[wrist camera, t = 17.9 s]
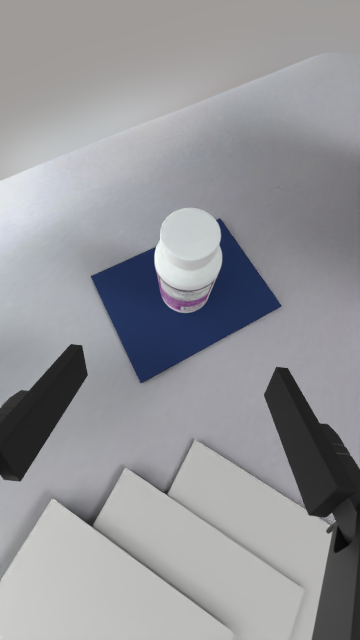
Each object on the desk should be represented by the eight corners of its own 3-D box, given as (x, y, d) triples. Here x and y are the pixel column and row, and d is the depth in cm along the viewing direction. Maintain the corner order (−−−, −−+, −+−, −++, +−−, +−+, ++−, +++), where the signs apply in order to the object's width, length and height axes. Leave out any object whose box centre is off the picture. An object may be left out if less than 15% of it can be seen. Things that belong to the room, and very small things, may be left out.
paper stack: (119, 391, 19) (117, 392, 19) (371, 551, 17) (380, 558, 16) (-74, 702, 14) (-86, 718, 13) (255, 1023, 11) (261, 1065, 10)
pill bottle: (172, 262, 23) (169, 187, 14) (215, 279, 23) (243, 213, 13) (152, 303, 22) (135, 250, 12) (198, 322, 21) (215, 281, 12)
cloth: (219, 220, 25) (220, 218, 25) (280, 306, 22) (281, 305, 22) (91, 277, 23) (90, 276, 22) (141, 383, 20) (140, 383, 20)
